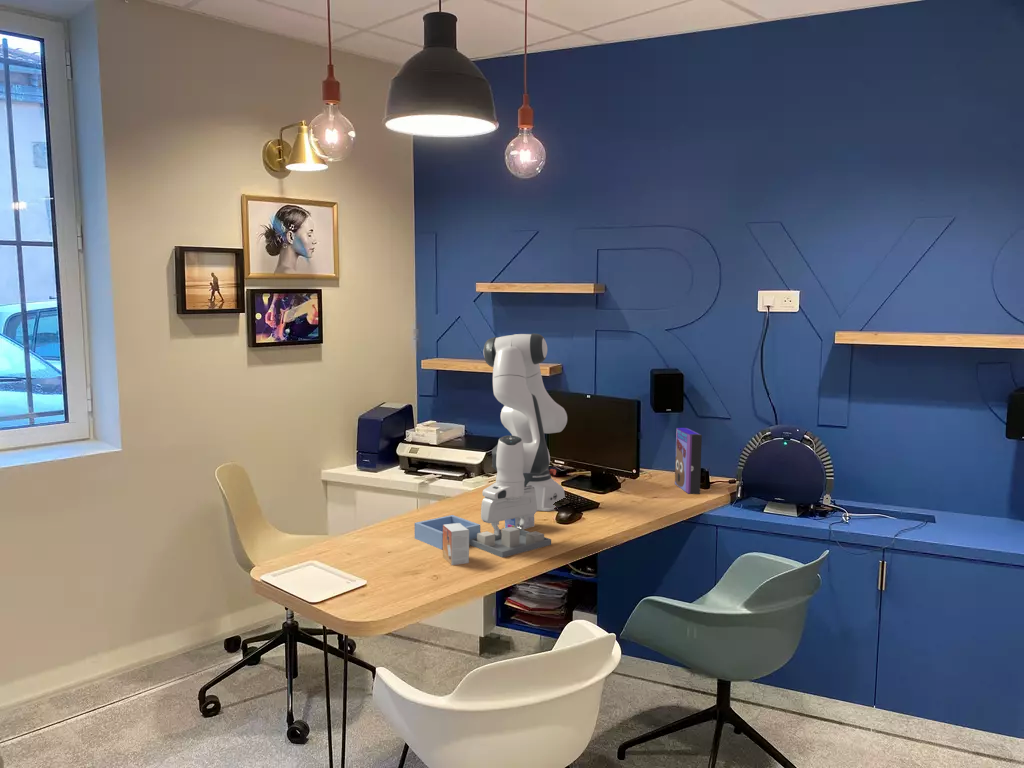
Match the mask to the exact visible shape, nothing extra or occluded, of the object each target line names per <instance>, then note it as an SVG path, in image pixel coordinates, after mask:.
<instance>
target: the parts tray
mask: <svg viewBox="0 0 1024 768" xmlns="http://www.w3.org/2000/svg"><path fill="white" fill-rule="evenodd" d="M530 532H531V531H528V530H525V529H524V530H520V544H519V545H518V546H514V547H507V546H504V545H502V544H501V541H502V531H501V535H498V536H497V535H495V545H493V546H488V545H485V544H482V543H480V542H477V538H474V539H470V543H469V546H471V547H474V548H476V549H479V550H481V551H484V552H487V553H489V554H491V555H494V556H496V557H499V558H501V559H502V558H506V557H510V556H514V555H518V554H522V553H527V552H529V551H533V550H537V549H540V548H544V547H549V546H551V545H552V539H551V538H548V537H545V536H544V541H540V542H536V543H532V544H528V545H526V533H530Z"/></svg>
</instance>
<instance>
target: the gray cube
mask: <svg viewBox="0 0 1024 768" xmlns="http://www.w3.org/2000/svg"><path fill="white" fill-rule="evenodd" d="M529 532H530V533H526V545H528V544H532V543H536V542H540V541H544V537H545V533H541V532H539V531H537V530H536V531H529Z"/></svg>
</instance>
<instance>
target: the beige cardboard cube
mask: <svg viewBox="0 0 1024 768" xmlns="http://www.w3.org/2000/svg"><path fill="white" fill-rule="evenodd" d="M501 532H502V541H501V544H502V545H504V546H507V547H514V546H518V545H519V544H520V529H517V528H514V527H508V528H505V527H503V528H501Z"/></svg>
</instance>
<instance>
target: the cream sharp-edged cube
mask: <svg viewBox="0 0 1024 768" xmlns="http://www.w3.org/2000/svg"><path fill="white" fill-rule="evenodd" d="M477 542H480V543H482V544H485V545H488V546H493V545H495V534H494V532H490V531H482V532H480V533H477Z"/></svg>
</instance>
